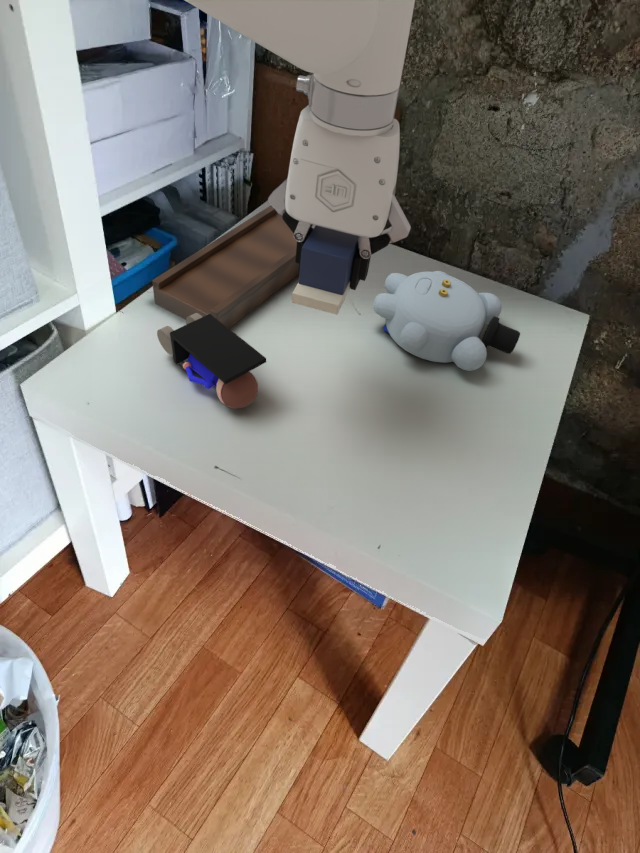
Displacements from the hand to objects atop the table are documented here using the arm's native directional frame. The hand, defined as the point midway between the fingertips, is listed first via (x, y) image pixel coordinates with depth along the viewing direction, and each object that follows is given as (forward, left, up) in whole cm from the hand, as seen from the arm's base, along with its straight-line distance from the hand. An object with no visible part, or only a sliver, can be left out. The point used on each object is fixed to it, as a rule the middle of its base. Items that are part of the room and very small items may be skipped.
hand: (330, 274), depth 69 cm
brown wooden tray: (+11, +23, -17) cm, 31 cm away
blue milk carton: (0, 0, 0) cm, 0 cm away
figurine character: (-9, +10, -17) cm, 22 cm away
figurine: (+21, -6, -17) cm, 28 cm away
